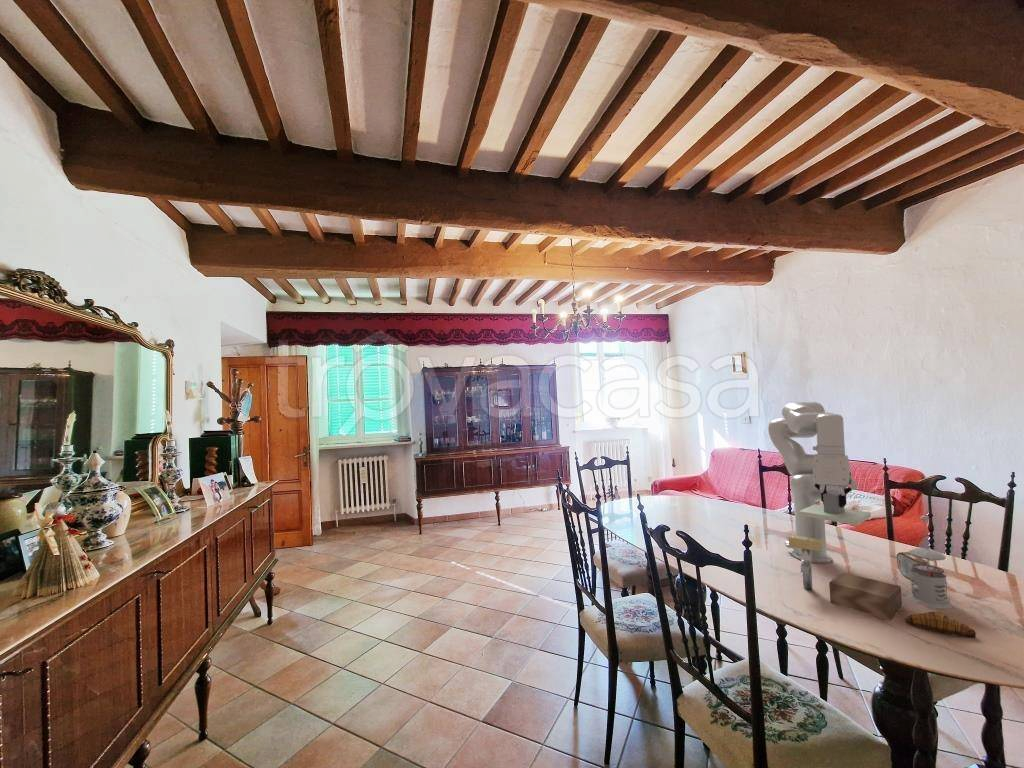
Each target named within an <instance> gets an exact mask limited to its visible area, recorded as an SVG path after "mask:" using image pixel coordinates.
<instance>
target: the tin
mask: <svg viewBox="0 0 1024 768" xmlns="http://www.w3.org/2000/svg"><path fill="white" fill-rule="evenodd" d="M895 557H896V564H897V568H898V570H899V572H900V573H901V575H902V576H903V577H904V578H906V579H908V580H909V579H910V581H911V579H912V578H911V569H914V568H913V567H912V565H913V564H916V563H920V564H927V561H928V560H927V559H923V558H919V557H915V556H913V555H911V554H910V553H909V551H904V552H897V554H896V556H895ZM913 573H916V572H913ZM916 574H918V575H919V573H916ZM929 577H932V578H933V573H930V575H929ZM913 582H915V583H917V581H913Z"/></svg>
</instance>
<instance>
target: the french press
mask: <svg viewBox="0 0 1024 768" xmlns="http://www.w3.org/2000/svg"><path fill="white" fill-rule="evenodd" d="M919 520H921V521H923V525H924V526H923V527H924V528H923V529H924V540H925V547H916V548H913V549H910V550H908V552H909V553H910V554H911V555H913V556H915V557H919V558H922V559H924V560H926V561H927V564H920V563H916V564H913V565H912V567H913V568H914V569H911V578H912V579H911V580H910V583H911V584H910V585H911V593H909V594H908V595H907V598H908V599H909V600H910V601H912V602H914V603H916V604H919V605H923V606H926V607H929V608H935V609H951V608H953V607H952V605H953V603H952V602H950V600H949V599H948V586H947V584H948V583H947V575H946V574H944V573H945V570H944V569H943V568H942V567H938V566H937V561H944V560H946V555H944V554H943V553H942V552H939V551H937V550H934V549H931V548H928V547H927V532H926V522H928V521H929V517H928V516H927V515H921V516H920V518H919ZM930 562H935V565H933V564H930ZM913 572H916V573H919V575H918V574H916V573H913ZM930 573H933V578H932V577H929V575H930ZM913 581H917V583H914V582H913ZM950 607H951V608H950Z"/></svg>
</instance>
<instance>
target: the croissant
mask: <svg viewBox="0 0 1024 768" xmlns="http://www.w3.org/2000/svg"><path fill="white" fill-rule="evenodd" d="M904 621H905V623H906V624H908V625H910V626H913V627H917V628H919V629H920V628H921V629H924V630H928V631H931V632H935V633H940V634H945V635H951V636H952V635H953V636H958V637H966V638H975V637H976V635H977V633H976V631H975V629H974V628H972V627H970V626H969V625H967V624H965V623H963V622H961V621H959V620H956V619H955V618H951V617H950V616H948V615H946V614H945V613H943V612H940V611H928V612H925V613H924V612H923V613H922V612H918V613H911V614H909V615H906V616H905V618H904Z"/></svg>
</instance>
